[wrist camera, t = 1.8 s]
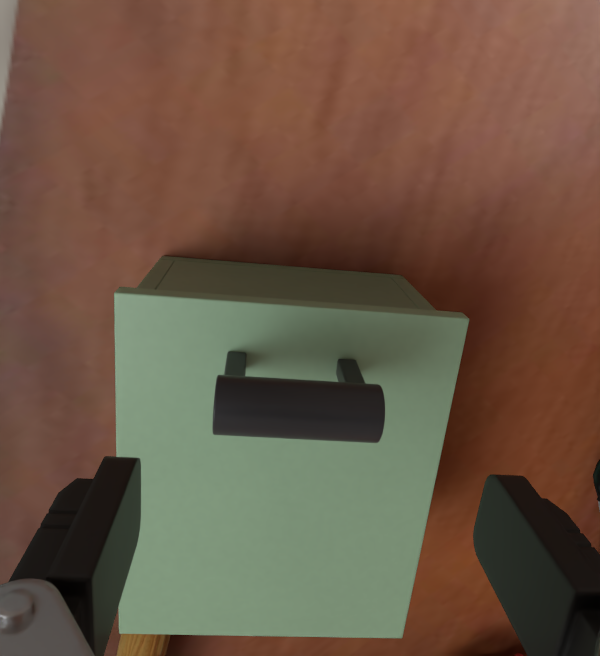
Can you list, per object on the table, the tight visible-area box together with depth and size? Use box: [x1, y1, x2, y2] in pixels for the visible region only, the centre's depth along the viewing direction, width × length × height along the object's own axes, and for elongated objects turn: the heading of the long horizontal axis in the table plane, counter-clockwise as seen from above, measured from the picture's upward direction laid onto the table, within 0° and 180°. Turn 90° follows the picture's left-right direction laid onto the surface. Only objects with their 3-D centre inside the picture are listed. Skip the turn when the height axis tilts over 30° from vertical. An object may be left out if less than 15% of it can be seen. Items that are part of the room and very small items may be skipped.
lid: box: [114, 287, 469, 638], centre depth 20 cm, size 15×13×5 cm
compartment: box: [137, 256, 435, 310], centre depth 27 cm, size 15×13×9 cm
